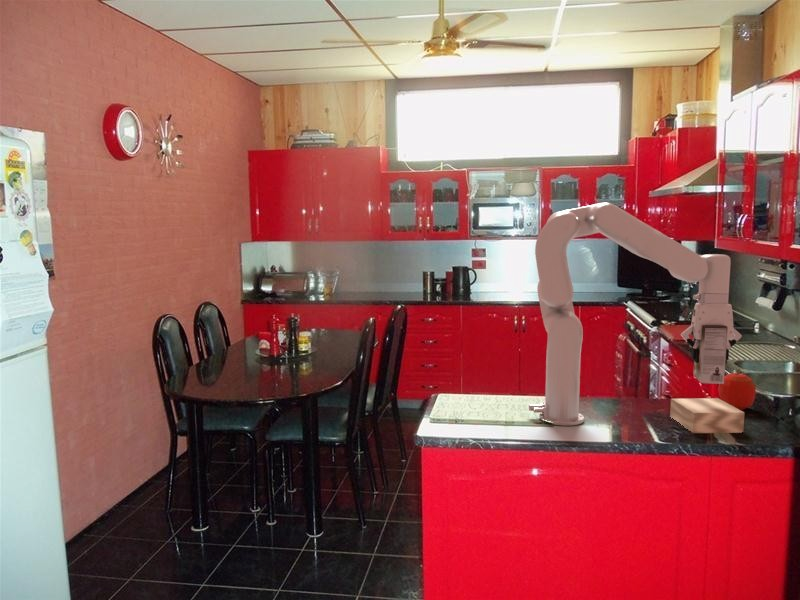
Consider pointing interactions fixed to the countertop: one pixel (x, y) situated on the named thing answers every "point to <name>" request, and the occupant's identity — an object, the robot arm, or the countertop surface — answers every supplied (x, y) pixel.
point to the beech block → (707, 415)
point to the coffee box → (712, 354)
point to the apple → (737, 390)
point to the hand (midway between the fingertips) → (709, 361)
